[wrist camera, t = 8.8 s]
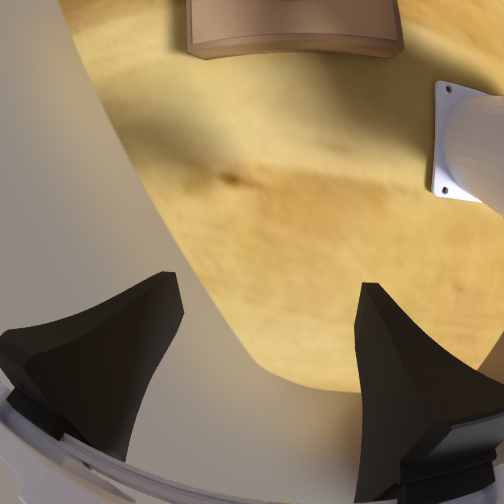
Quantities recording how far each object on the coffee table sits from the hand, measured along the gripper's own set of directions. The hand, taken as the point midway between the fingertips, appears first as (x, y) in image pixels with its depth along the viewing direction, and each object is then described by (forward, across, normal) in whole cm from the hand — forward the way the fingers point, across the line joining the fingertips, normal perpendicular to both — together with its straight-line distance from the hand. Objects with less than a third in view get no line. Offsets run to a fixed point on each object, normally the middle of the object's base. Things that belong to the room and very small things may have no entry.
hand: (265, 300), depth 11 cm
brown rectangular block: (+10, -1, -16) cm, 19 cm away
